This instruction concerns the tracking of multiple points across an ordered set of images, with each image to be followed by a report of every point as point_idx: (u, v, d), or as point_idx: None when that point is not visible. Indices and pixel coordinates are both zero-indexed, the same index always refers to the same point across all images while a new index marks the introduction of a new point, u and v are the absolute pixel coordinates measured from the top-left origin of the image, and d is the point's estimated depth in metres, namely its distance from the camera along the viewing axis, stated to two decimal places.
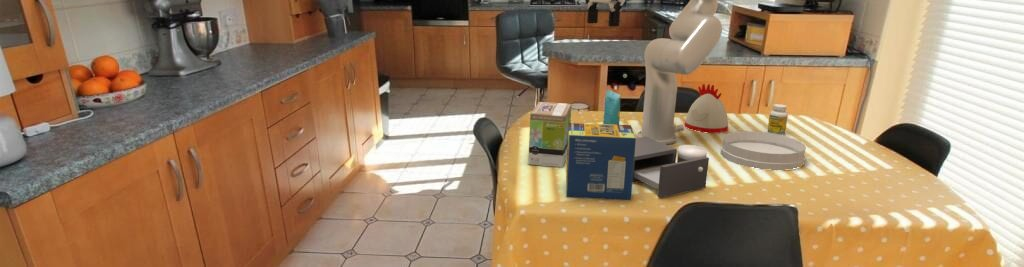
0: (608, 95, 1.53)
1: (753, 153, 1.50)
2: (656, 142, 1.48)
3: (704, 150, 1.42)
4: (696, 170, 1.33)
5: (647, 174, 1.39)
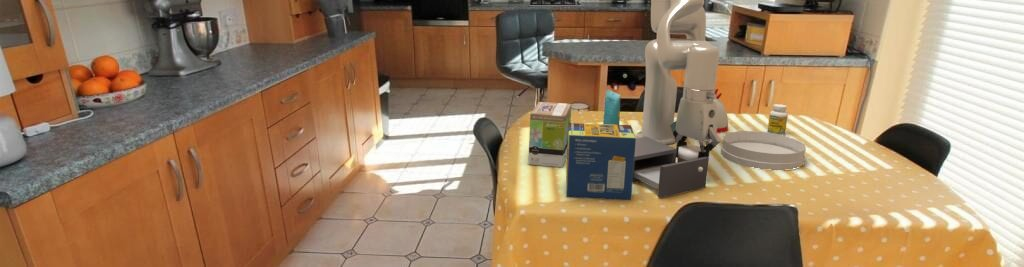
0: (608, 95, 1.53)
1: (753, 153, 1.50)
2: (656, 142, 1.48)
3: None
4: (696, 170, 1.33)
5: (647, 174, 1.39)
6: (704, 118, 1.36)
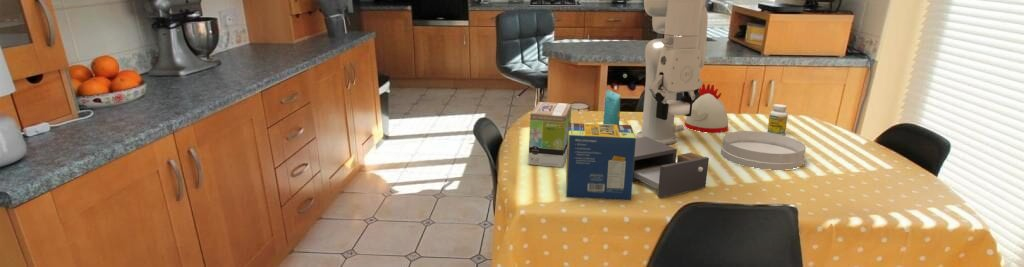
0: (608, 95, 1.53)
1: (753, 153, 1.50)
2: (656, 142, 1.48)
3: (673, 106, 1.29)
4: (696, 170, 1.33)
5: (647, 174, 1.39)
6: (658, 63, 1.28)
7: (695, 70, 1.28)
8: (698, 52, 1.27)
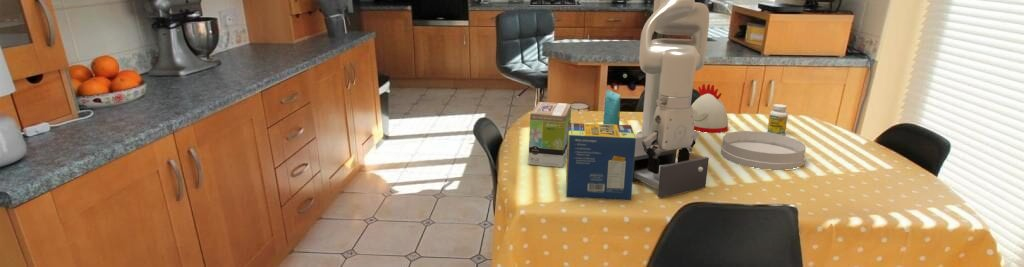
0: (608, 95, 1.53)
1: (753, 153, 1.50)
2: None
3: None
4: (696, 170, 1.33)
5: (647, 174, 1.39)
6: (652, 122, 1.32)
7: (688, 128, 1.32)
8: (691, 111, 1.31)
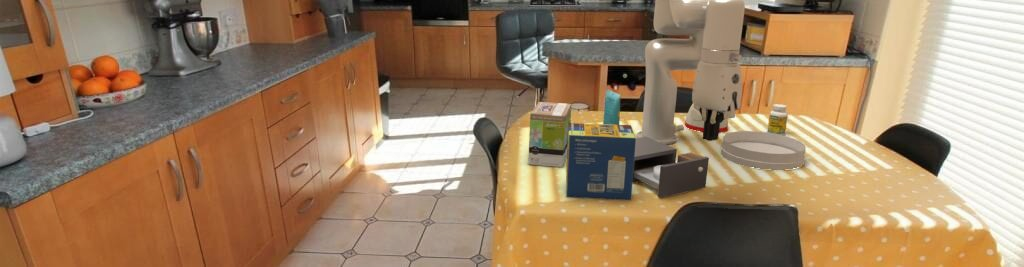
0: (608, 95, 1.53)
1: (753, 153, 1.50)
2: (656, 142, 1.48)
3: None
4: (696, 170, 1.33)
5: (647, 174, 1.39)
6: (727, 84, 1.15)
7: None
8: None
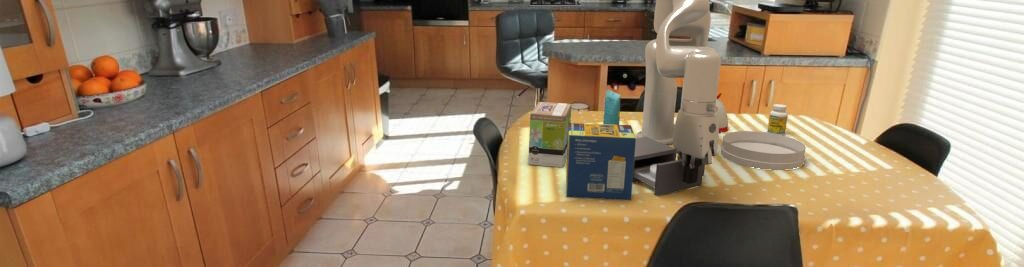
0: (608, 95, 1.53)
1: (754, 153, 1.49)
2: (656, 142, 1.48)
3: None
4: None
5: (644, 172, 1.40)
6: (705, 133, 1.22)
7: None
8: None
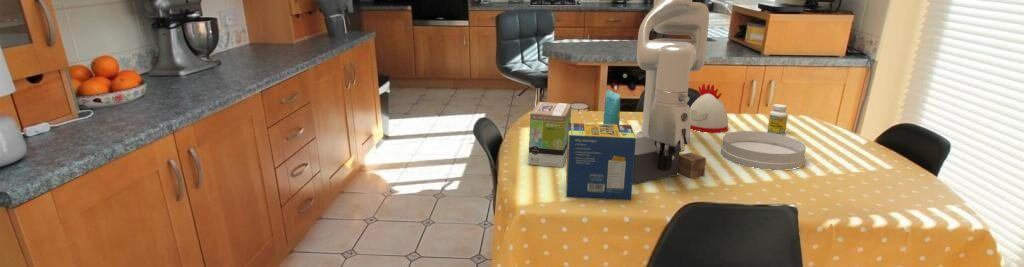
0: (608, 95, 1.53)
1: (754, 154, 1.49)
2: None
3: None
4: None
5: None
6: (677, 122, 1.29)
7: None
8: None
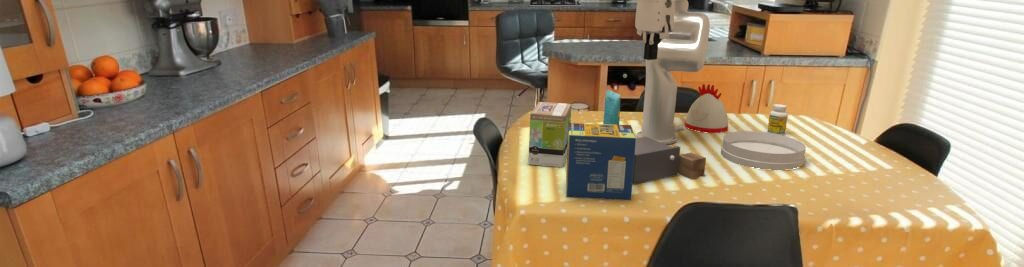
0: (608, 95, 1.53)
1: (754, 153, 1.49)
2: (656, 142, 1.48)
3: None
4: (668, 158, 1.41)
5: None
6: (661, 8, 1.35)
7: None
8: None
